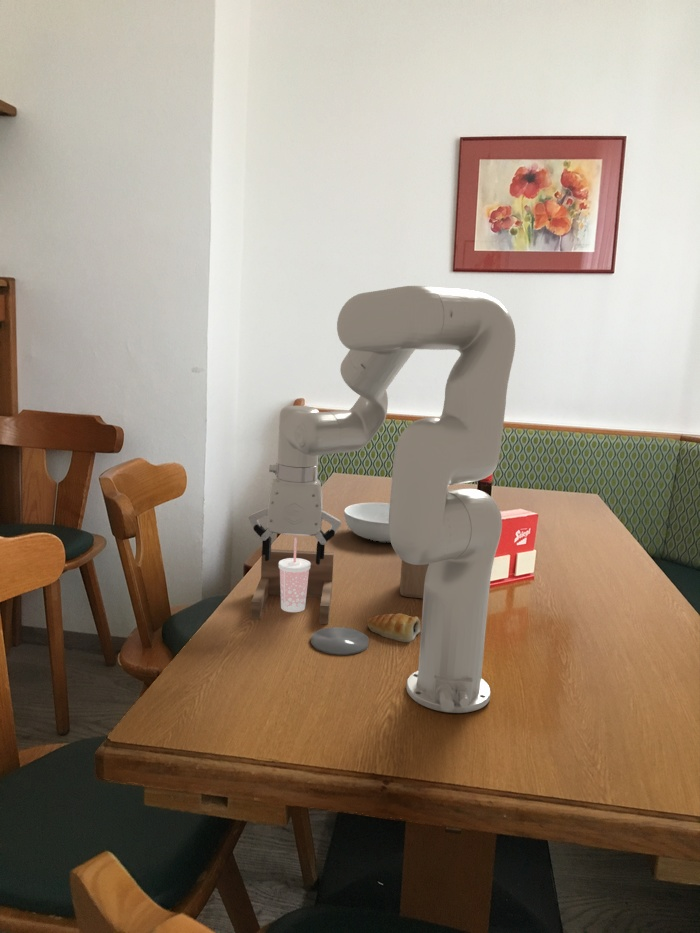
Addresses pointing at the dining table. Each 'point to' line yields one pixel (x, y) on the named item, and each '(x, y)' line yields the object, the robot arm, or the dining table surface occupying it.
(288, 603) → the beverage cup
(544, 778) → the dining table surface
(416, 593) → the block
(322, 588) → the rack
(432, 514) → the robot arm
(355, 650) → the coaster
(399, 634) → the pastry
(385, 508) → the serving bowl
